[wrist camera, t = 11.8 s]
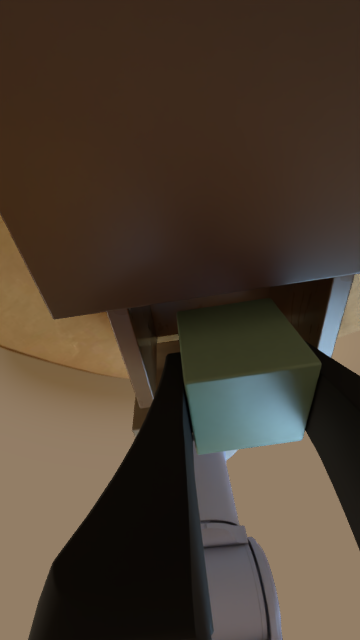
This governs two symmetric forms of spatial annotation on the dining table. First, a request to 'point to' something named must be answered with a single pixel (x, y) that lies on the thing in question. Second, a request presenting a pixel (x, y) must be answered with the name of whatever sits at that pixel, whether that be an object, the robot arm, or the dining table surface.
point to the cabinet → (179, 146)
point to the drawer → (161, 320)
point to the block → (245, 376)
